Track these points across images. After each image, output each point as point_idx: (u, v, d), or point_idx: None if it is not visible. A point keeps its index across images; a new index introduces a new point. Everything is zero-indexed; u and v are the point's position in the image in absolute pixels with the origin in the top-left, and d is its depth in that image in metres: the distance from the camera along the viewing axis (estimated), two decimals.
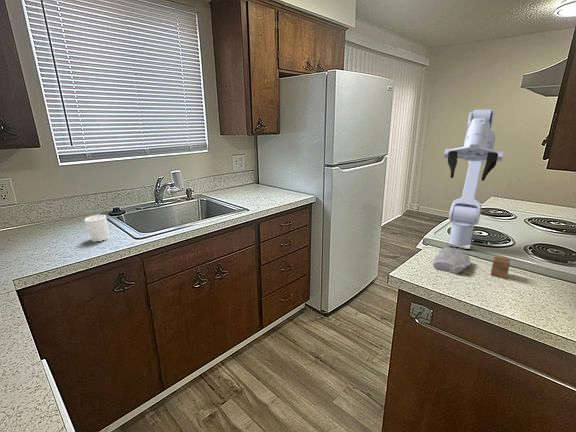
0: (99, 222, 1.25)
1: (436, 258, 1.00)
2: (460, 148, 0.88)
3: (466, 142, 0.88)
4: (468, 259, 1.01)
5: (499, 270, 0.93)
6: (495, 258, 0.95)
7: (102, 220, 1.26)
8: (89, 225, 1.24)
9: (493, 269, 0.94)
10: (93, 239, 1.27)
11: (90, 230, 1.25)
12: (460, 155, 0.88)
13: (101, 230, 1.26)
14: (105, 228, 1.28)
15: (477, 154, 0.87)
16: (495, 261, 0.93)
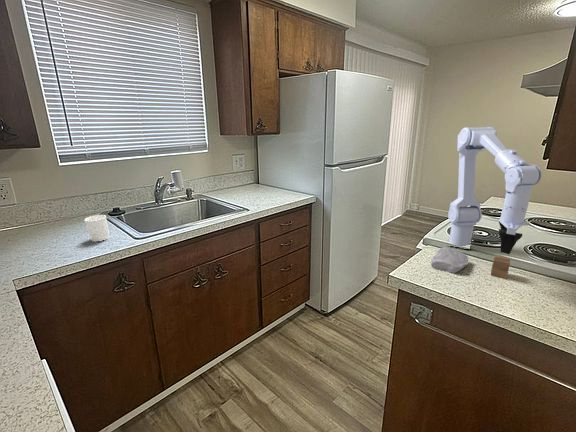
0: (99, 222, 1.25)
1: (434, 258, 1.01)
2: (520, 226, 0.86)
3: (521, 216, 0.86)
4: (466, 258, 1.01)
5: (499, 270, 0.93)
6: (495, 258, 0.95)
7: (102, 220, 1.26)
8: (89, 225, 1.24)
9: (493, 269, 0.94)
10: (93, 239, 1.27)
11: (90, 230, 1.25)
12: None
13: (101, 230, 1.26)
14: (105, 228, 1.28)
15: None
16: (495, 261, 0.93)
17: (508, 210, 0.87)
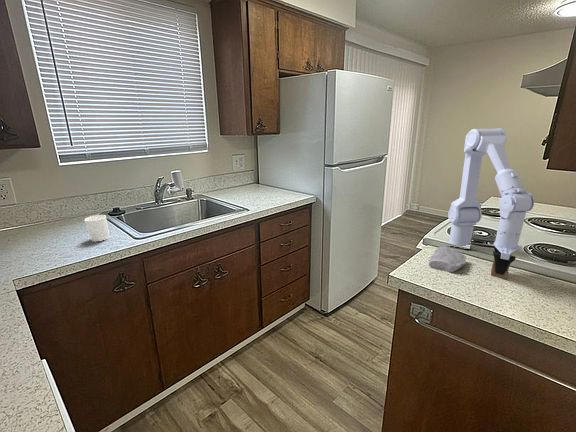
0: (99, 222, 1.25)
1: (432, 257, 1.01)
2: (513, 251, 0.89)
3: (515, 242, 0.89)
4: (463, 258, 1.02)
5: None
6: None
7: (102, 220, 1.26)
8: (89, 225, 1.24)
9: (493, 269, 0.94)
10: (93, 239, 1.27)
11: (90, 230, 1.25)
12: None
13: (101, 230, 1.26)
14: (105, 228, 1.28)
15: None
16: None
17: (502, 235, 0.90)
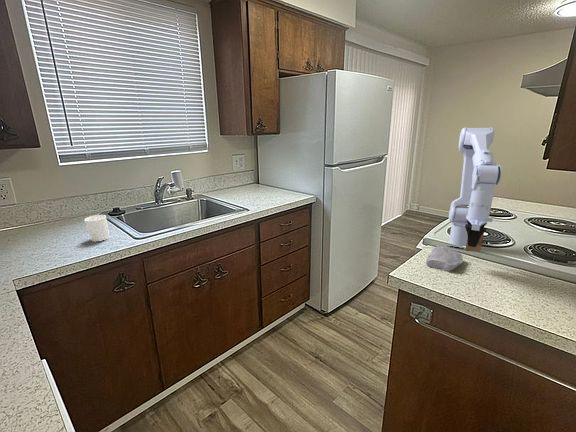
0: (99, 222, 1.25)
1: (429, 256, 1.02)
2: (484, 223, 0.91)
3: (485, 213, 0.91)
4: (460, 257, 1.02)
5: None
6: None
7: (102, 220, 1.26)
8: (89, 225, 1.24)
9: (467, 243, 0.96)
10: (93, 239, 1.27)
11: (90, 230, 1.25)
12: None
13: (101, 230, 1.26)
14: (105, 228, 1.28)
15: None
16: None
17: (473, 207, 0.92)
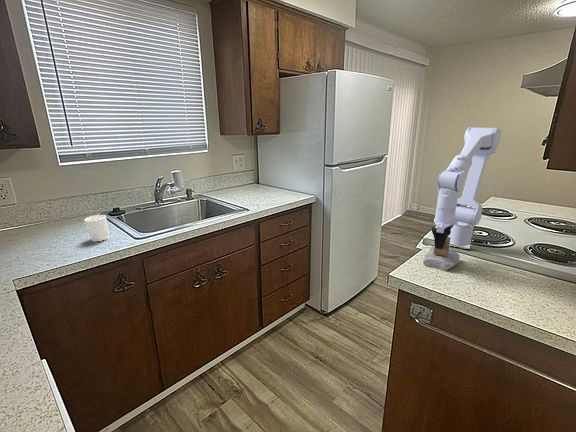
0: (99, 222, 1.25)
1: (426, 255, 1.02)
2: (449, 225, 0.96)
3: (450, 217, 0.96)
4: (457, 256, 1.03)
5: None
6: None
7: (102, 220, 1.26)
8: (89, 225, 1.24)
9: None
10: (93, 239, 1.27)
11: (90, 230, 1.25)
12: None
13: (101, 230, 1.26)
14: (105, 228, 1.28)
15: None
16: None
17: (439, 211, 0.97)
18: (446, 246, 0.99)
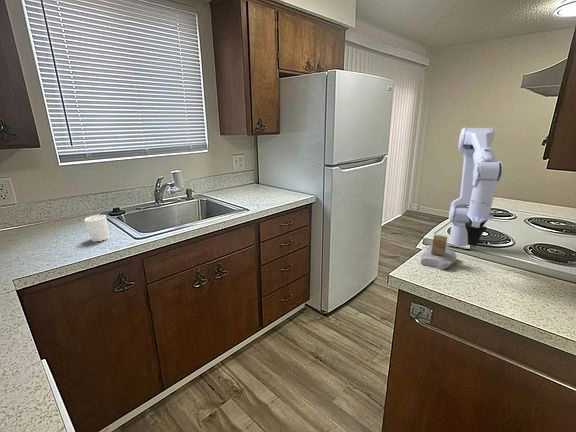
0: (99, 222, 1.25)
1: (423, 255, 1.03)
2: (485, 220, 0.90)
3: (486, 210, 0.90)
4: (454, 255, 1.04)
5: (438, 247, 1.01)
6: (434, 237, 1.02)
7: (102, 220, 1.26)
8: (89, 225, 1.24)
9: (433, 247, 1.02)
10: (93, 239, 1.27)
11: (90, 230, 1.25)
12: None
13: (101, 230, 1.26)
14: (105, 228, 1.28)
15: None
16: (434, 239, 1.01)
17: (474, 204, 0.91)
18: (444, 245, 1.00)
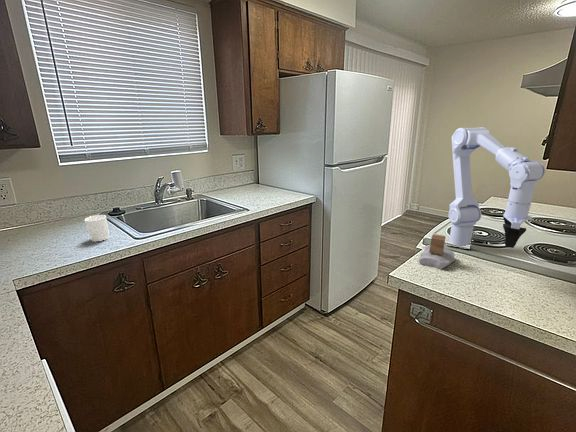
0: (99, 222, 1.25)
1: (422, 254, 1.03)
2: (524, 221, 0.88)
3: (525, 211, 0.89)
4: (452, 255, 1.04)
5: (436, 247, 1.02)
6: (432, 236, 1.03)
7: (102, 220, 1.26)
8: (89, 225, 1.24)
9: (431, 246, 1.03)
10: (93, 239, 1.27)
11: (90, 230, 1.25)
12: None
13: (101, 230, 1.26)
14: (105, 228, 1.28)
15: None
16: (432, 239, 1.02)
17: (512, 205, 0.90)
18: (441, 245, 1.01)
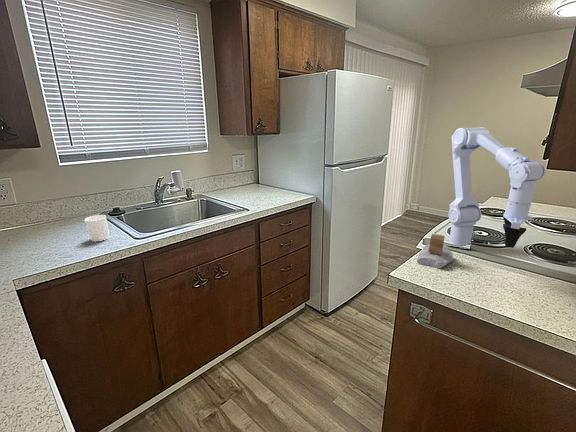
0: (99, 222, 1.25)
1: (420, 254, 1.04)
2: (524, 221, 0.88)
3: (525, 211, 0.89)
4: (451, 255, 1.04)
5: (435, 246, 1.02)
6: (432, 236, 1.03)
7: (102, 220, 1.26)
8: (89, 225, 1.24)
9: (430, 246, 1.03)
10: (93, 239, 1.27)
11: (90, 230, 1.25)
12: None
13: (101, 230, 1.26)
14: (105, 228, 1.28)
15: None
16: (431, 238, 1.02)
17: (512, 205, 0.90)
18: (441, 244, 1.01)
